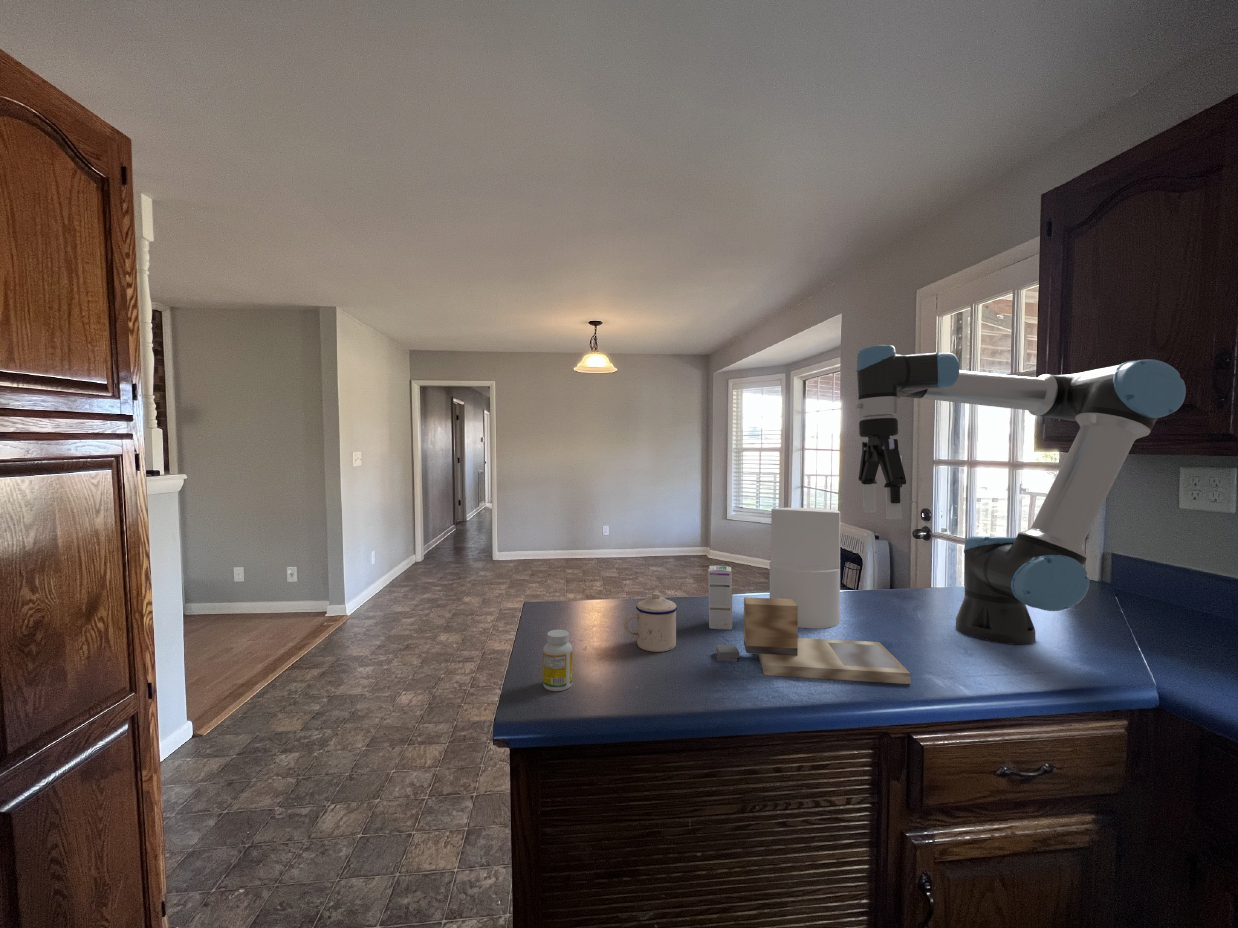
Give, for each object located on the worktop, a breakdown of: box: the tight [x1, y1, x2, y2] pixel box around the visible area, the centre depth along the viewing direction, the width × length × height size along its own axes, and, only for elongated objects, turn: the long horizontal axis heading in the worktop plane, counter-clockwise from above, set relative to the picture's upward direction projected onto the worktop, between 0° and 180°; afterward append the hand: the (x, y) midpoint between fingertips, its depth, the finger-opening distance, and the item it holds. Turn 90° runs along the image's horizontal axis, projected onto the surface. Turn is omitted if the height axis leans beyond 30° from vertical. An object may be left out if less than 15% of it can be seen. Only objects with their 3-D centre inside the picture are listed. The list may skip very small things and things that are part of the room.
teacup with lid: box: [623, 591, 678, 653], centre depth 111 cm, size 12×9×12 cm
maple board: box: [757, 637, 911, 685], centre depth 102 cm, size 26×16×2 cm, turn 81°
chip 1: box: [715, 644, 740, 659], centre depth 105 cm, size 4×4×1 cm
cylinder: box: [769, 507, 841, 630], centre depth 131 cm, size 17×17×28 cm
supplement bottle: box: [542, 629, 573, 692], centre depth 92 cm, size 5×5×10 cm
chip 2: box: [716, 652, 738, 662], centre depth 105 cm, size 4×4×1 cm
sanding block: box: [743, 596, 799, 656], centre depth 104 cm, size 10×5×10 cm, turn 81°
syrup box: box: [707, 565, 733, 631], centre depth 125 cm, size 6×6×14 cm
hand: (881, 515), depth 109 cm, fingers open, 13 cm apart
